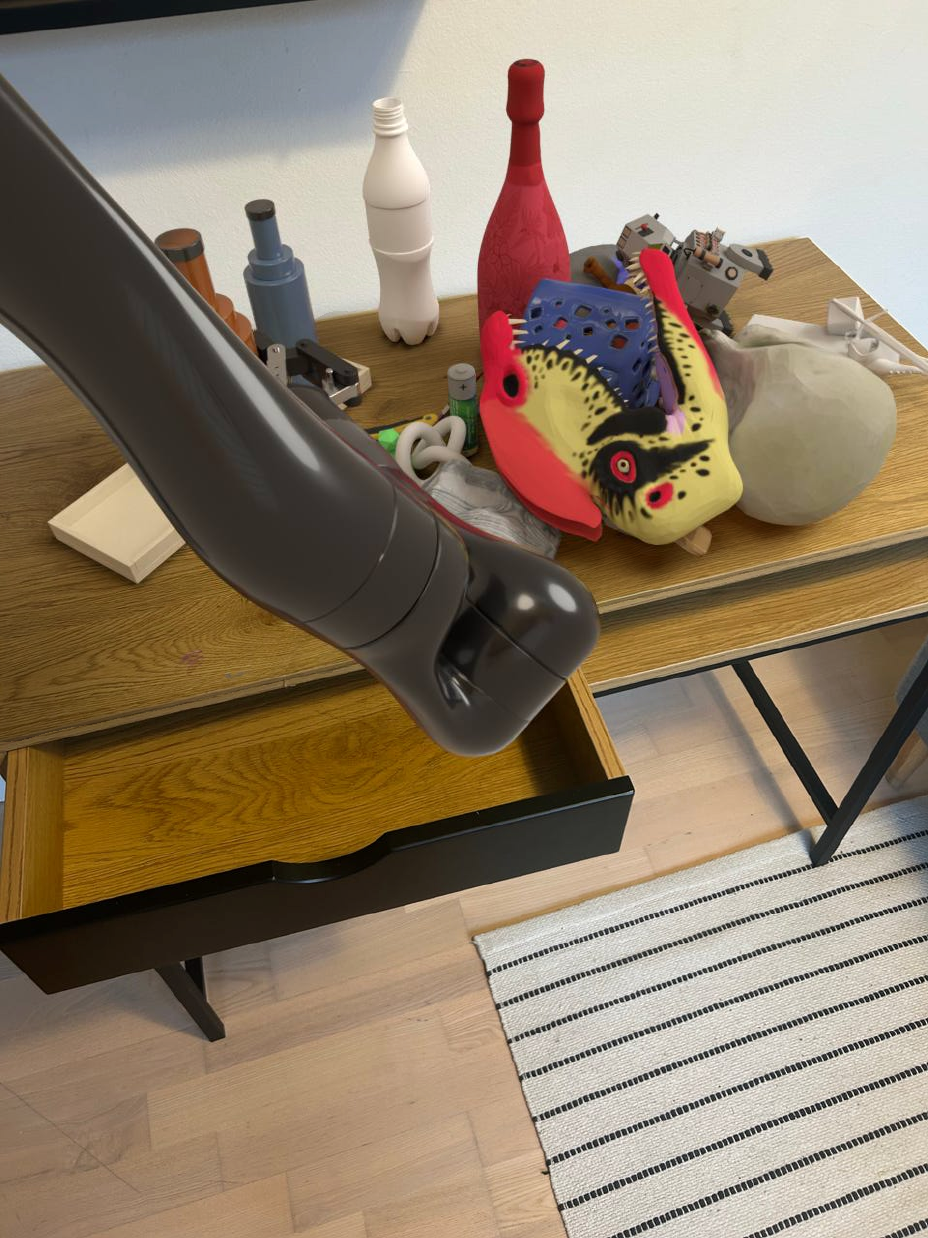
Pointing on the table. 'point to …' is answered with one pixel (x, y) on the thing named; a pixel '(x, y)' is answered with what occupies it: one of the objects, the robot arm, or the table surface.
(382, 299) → the water bottle
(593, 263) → the toy figurine
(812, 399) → the skull
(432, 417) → the utility knife
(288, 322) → the slate-blue bottle
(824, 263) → the table surface
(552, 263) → the wine bottle
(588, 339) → the flower pot
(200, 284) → the amber bottle
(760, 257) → the figurine
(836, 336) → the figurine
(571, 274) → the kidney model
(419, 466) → the knot
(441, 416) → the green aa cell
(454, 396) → the battery
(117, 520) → the tray
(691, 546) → the sandal
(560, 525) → the toy
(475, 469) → the decorative stone
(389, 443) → the game piece
